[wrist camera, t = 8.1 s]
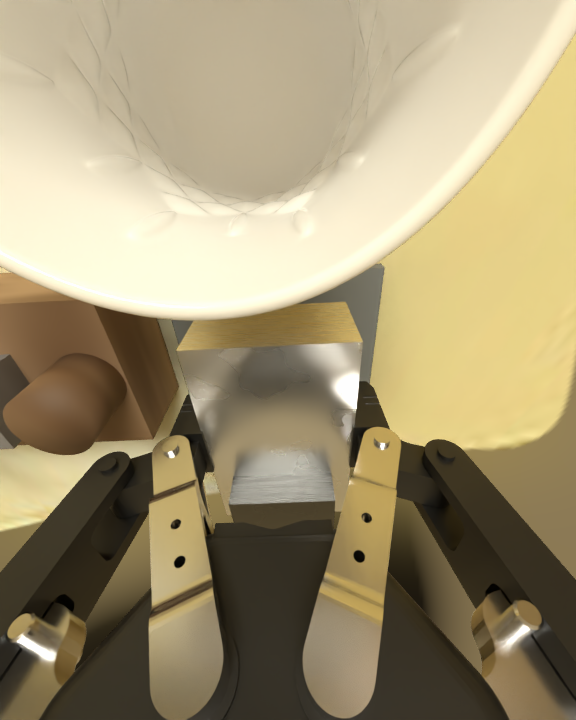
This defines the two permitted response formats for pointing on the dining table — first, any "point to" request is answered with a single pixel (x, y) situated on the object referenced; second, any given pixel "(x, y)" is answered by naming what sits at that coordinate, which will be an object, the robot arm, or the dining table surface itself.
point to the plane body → (77, 371)
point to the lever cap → (277, 409)
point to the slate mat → (362, 306)
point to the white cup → (247, 139)
